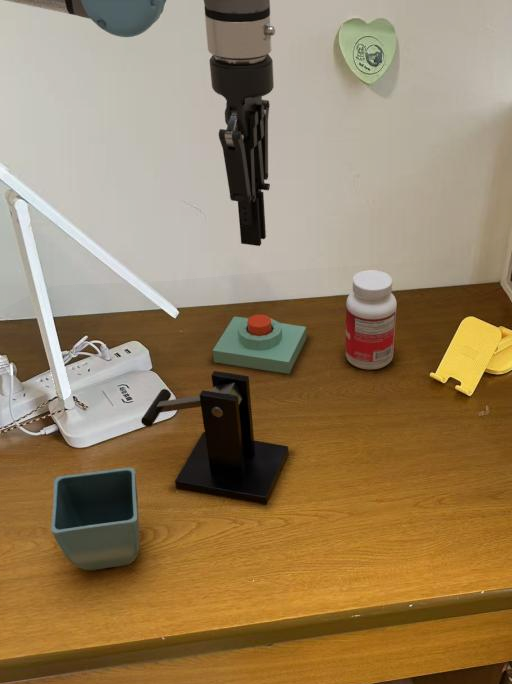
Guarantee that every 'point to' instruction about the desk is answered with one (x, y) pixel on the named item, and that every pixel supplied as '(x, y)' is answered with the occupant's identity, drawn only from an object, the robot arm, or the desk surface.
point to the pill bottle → (370, 320)
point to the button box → (260, 346)
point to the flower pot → (97, 518)
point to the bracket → (231, 448)
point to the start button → (259, 325)
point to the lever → (182, 402)
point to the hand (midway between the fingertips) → (253, 240)
